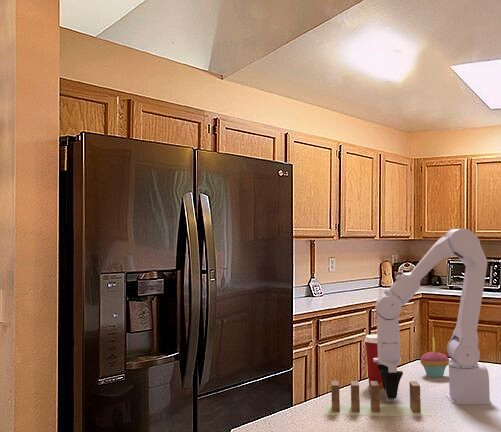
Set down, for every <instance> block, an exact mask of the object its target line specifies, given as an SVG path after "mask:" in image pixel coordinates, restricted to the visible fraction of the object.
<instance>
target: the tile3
mask: <svg viewBox="0 0 501 432" xmlns="http://www.w3.org/2000/svg"><path fill="white" fill-rule="evenodd" d="M369 387H370V388H369V389H370V390H369V392H370V393H369V394H370V404H371V409H372V412H380V405H381V402H380V401H381V400H380V399H381V397H380V396H381V394H380V391H381V390H380V388H379V384H378V381H370V386H369Z"/></svg>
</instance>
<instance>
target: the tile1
mask: <svg viewBox="0 0 501 432" xmlns="http://www.w3.org/2000/svg"><path fill="white" fill-rule="evenodd" d="M409 405H410V408H411V410H412V412H413V413H421V405H422V404H421V385H420V383H419V382H418V381H417V380H415V381H414V380H411V381H409Z"/></svg>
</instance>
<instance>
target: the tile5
mask: <svg viewBox="0 0 501 432" xmlns="http://www.w3.org/2000/svg"><path fill="white" fill-rule="evenodd" d="M339 382H340V381H339V380H331V381H330V383H331V389H330V390H331V392H330V394H331V404H332V412H340V398H341V397H340V383H339Z"/></svg>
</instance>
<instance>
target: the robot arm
mask: <svg viewBox="0 0 501 432" xmlns="http://www.w3.org/2000/svg"><path fill="white" fill-rule="evenodd" d="M454 256H456V257H457V258H458V259H459V261H461V262H462V264H463V265H464V266H465V268H464V269H465V270H464V276H463V282H462V283H463V284H462V289H461V293H460V294H461V295H460V301H459V307H458V313H457V314H458V315H457V320H456V326H455V327H454V329H453V331H452V335H451V338H450V340H449V341H448V342H447V345H446V351H447V354H448V356H449V357H450V359H449V365H448V381H449V382H448V385H449V393H445V395H444V396H445V397H446V398H447V399H448V401H449V402H450V403H451V404H453V405H454V404H456V405H457V404H459V405H460V404H461V405H462V404H463V405H466V404H467V405H491V401H490V399H491V398H490V397H491V395H490V377H489V371H488V368H487V366H486V365H479V361H480V359H481V352H480V350H479V341H480V340H479V336H478V327H479V325H478V324H479V319H480V313H481V306H482V300H483V294H484V289H485V288H484V287H485V281H486V275H487V269H488V259H487V257H486V255H485V252H484V251H483V247H482V246H481V241H480V239H479V238H478V237H477V236H476V234H475V233H474V232H472V230H469V229H468V228H451V229H449V230H447V231H446V232H445V234H444V235H443V236H441V237H440V238H439V239H438V240H437V241H436V242H435V243H434V244H433V245H432V246H431V247H430V249H428V251H427V252H426V253H425V254H424V256H422V258H421V259H420V260H419V262H418V263H417V264H416V265H415V267H413V269H412V270H411V271H410V272H403V273H402V274H401V275H399V274H398V275H396V276H395V281H394V283H392V284H391V285H390V287H389V288H388V289H385V290H384V291H383V294H384V295H381V296H379V297H378V298H377V300H376V302H375V305H374V309H375V311H376V313H377V317H376V321H377V323H376V334H377V341H378V342H377V344H378V358H373V361H374V362H378V363H377V364H376V365H377V366H378V368H379V371H380V374H381V378H382V384H383V388H382V389H383V390H384V392H385V389H386V394H387V397H388V398H395V399H397V395H398V390H399V384H400V382H401V380H402V378H403V375H404V372H403V370H398V367H399V365H400V364H401V363H402V359H401V340H400V339H401V338H400V337H401V336H400V334H401V333H400V323H399V316H400V314H401V313H402V307H403V306H405V305H406V304H408V302H409V301H410V300H411V298H412V297H413V296H414V295H416V293H417V292H419V290H420V289H421V281H422V279H423V278H424V277H425V276H427V274H429V272H430V271H431V270H432V269H434V267H435V266H436V265H437V264H438V263H439V262H440V261H441V260H442V259H446V258H449V257H454Z"/></svg>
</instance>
